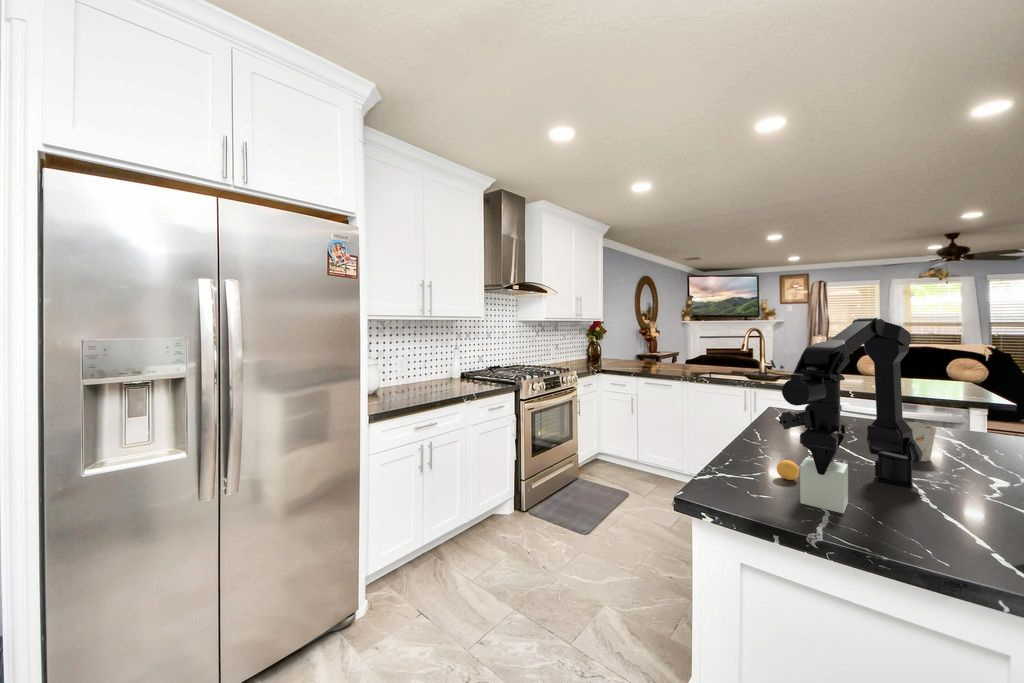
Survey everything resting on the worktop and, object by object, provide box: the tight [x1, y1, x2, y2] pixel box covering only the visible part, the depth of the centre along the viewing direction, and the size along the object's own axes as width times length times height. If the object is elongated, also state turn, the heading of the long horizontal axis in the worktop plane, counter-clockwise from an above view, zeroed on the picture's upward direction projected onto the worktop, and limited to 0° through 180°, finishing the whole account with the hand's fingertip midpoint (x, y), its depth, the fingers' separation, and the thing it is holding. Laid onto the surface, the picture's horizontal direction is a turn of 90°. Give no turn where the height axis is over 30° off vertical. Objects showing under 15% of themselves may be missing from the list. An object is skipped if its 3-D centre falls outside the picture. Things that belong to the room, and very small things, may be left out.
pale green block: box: [799, 456, 849, 514], centre depth 91 cm, size 8×8×9 cm
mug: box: [905, 421, 937, 462], centre depth 119 cm, size 8×13×10 cm, turn 78°
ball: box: [776, 459, 800, 481], centre depth 106 cm, size 5×5×5 cm
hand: (824, 468), depth 91 cm, fingers open, 9 cm apart
